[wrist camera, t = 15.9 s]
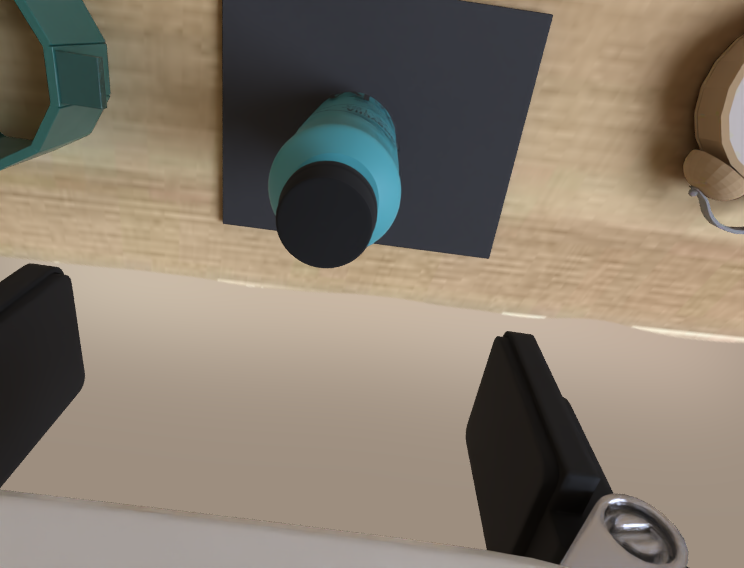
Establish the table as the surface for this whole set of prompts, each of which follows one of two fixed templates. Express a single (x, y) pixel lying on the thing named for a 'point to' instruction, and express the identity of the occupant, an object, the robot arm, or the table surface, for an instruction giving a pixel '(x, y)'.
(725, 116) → the alarm clock
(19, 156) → the teal cooking pot
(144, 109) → the table surface
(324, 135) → the beverage bottle
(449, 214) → the mat
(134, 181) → the table surface
